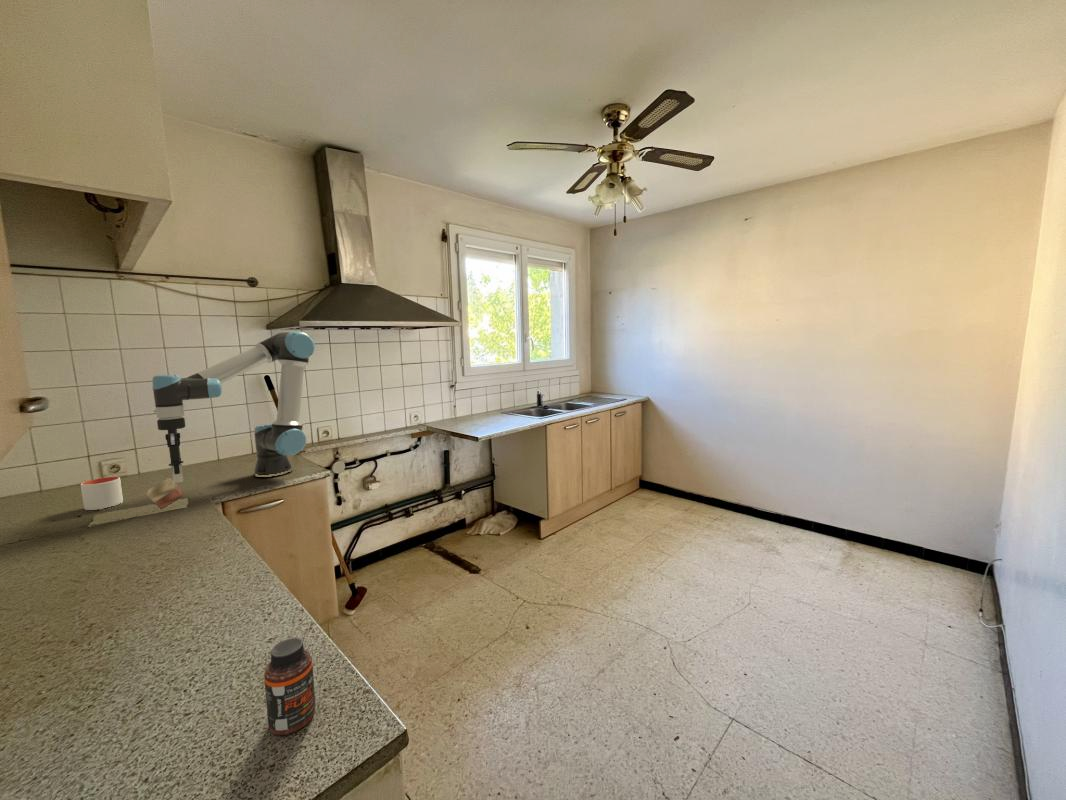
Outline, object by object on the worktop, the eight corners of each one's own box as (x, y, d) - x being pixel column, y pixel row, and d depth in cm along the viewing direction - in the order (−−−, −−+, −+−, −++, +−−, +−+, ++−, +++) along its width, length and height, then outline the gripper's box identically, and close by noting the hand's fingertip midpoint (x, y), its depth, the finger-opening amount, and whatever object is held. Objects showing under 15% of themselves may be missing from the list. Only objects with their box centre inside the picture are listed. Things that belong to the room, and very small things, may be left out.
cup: (99, 512, 146) (95, 485, 145) (76, 511, 148) (72, 484, 147) (131, 502, 156) (127, 476, 155) (109, 502, 158) (105, 476, 157)
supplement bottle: (289, 744, 56) (281, 666, 55) (258, 730, 59) (251, 655, 57) (325, 709, 62) (319, 638, 61) (296, 697, 64) (290, 628, 63)
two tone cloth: (183, 492, 156) (169, 477, 153) (182, 496, 150) (169, 481, 148) (162, 504, 152) (148, 489, 150) (161, 509, 147) (146, 494, 144)
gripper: (158, 417, 152) (165, 480, 155) (155, 421, 142) (163, 488, 145) (184, 415, 157) (191, 476, 159) (184, 418, 147) (191, 483, 149)
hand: (178, 482), depth 152 cm, fingers closed
